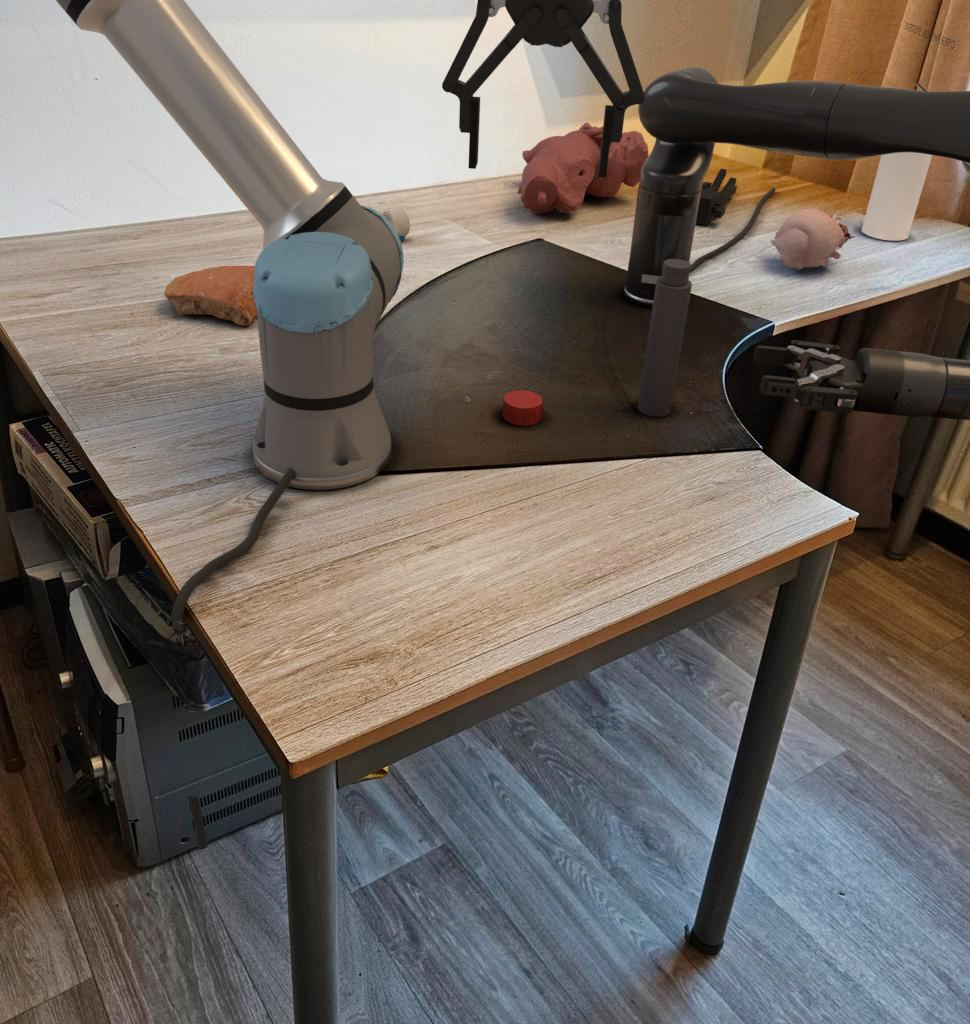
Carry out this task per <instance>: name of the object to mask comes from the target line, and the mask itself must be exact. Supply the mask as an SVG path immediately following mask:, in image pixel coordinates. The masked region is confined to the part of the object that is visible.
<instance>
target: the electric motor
mask: <svg viewBox="0 0 970 1024" xmlns="http://www.w3.org/2000/svg"><path fill="white" fill-rule="evenodd" d="M381 214H382V215H383V216H384V217H385V218H386V219H387V220H388V221H389V222H390V223H391V225H392V226H393V227H394V229H395V231H396V232H397V234H398V236H399V239H400V241H404V240H405V238H406V236H407V235H409V233H410V229H411V222H410V218H409V216H408V213H407V212H406V210H404V209H403V208H397V209H392V210H387V211H384V212H383V213H381Z"/></svg>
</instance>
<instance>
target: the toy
mask: <svg viewBox="0 0 970 1024" xmlns="http://www.w3.org/2000/svg"><path fill="white" fill-rule="evenodd" d="M842 221H843V220H842V217H840V216H838V215H837V214H835V213H833V214H831V215H830V214H828V213H827V212H826V211H823V210H820V209H817V208H802V209H799V210H797V211H796V212H793V213H792V214H791V215H790V216H789V217H787V218H786V219H785V220H784V221H783V223H782V224H781V226H780V227H779V229H778V231H775V236H774V239H770V240H769V241H770V243H771V244H772V245H773V247H775V249H776V250H777V251H776V252H778V254H779V256H780V258H781V260H782V262H783V264H785V266H787V267H788V268H791V269H796V270H797V271H798V270H799V271H800V270H801V271H802V270H803V269H804V268H817V269H819V267H820V266H821V268H824V267H826V266H828V264H829V260H830V259H832V258H833V259H835V260H839V259H841V257H842V254H840V253H839V252H838V250H840V249H842V248H843V246H844V245H845V244H846V243H847V242H848V241H849V240H852V239H854V238H855V236H851V233H850V231H849V228H848V224H847V223H842Z"/></svg>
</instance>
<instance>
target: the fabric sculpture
mask: <svg viewBox="0 0 970 1024" xmlns="http://www.w3.org/2000/svg"><path fill="white" fill-rule="evenodd" d="M602 133H603V125H602V126H600V127H598V126H592V125H591V124H590V123H589V122H585V123H584V124H581V126H580V127H579V129H576V130H573V131H570V132H568V133H566V134H565V135H554V136H549V137H546V138H544V139H542V140H540V141H539V142H538V143H536V145H535V146H534V147H532V148H531V149H529V150H523V151H522V153H521V156H522V158H523V160H524V162H525V163H526V164H525V166H524V168H523V170H522V172H521V173H522V174H521V180H520V181H521V182H520V185H519V186H518V189H517V194H518V195H520V200H521V202H522V203H523V207H524V209H525V210H529V211H530V212H532V213H535V214H546V213H549V212H551V211H552V210H553V209H554V208H555V209H556V210H557V211H559V212H560V213H564V214H569V213H573V212H575V211H578V209H579V208H581V206H582V203H584V199H585V195H591V196H593V197H596V198H599V197H604V198H606V197H608V198H610V197H613V196H614V195H617V194H618V192H619V191H620V189H621V186H622V184H624V185H625V186H627V187H631V188H635V187H636V186H637V185H639V180H640V173H641V168H642V166H643V164H644V162H645V161H646V160H647V158H648V157H649V146H648V143H647V142H646V141H645V139H644V135H643V134H642V132H638V131H636V130H631V131H628V132H627V131H624V132H622V138H621V140H620V142H619V143H616V142H610V148H609V157H608V166H607V175H606V177H599V171H598V170H599V160H600V151H601V142H602Z"/></svg>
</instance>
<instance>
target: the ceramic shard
mask: <svg viewBox="0 0 970 1024" xmlns="http://www.w3.org/2000/svg"><path fill="white" fill-rule="evenodd" d="M254 269H255V265H219V266H214V267H207V268H203V269H201V270H196V271H191V272H187V273H185V274H182V275H180V276H177V277H174V278H173V279H172V280H171V281H170V282H169V283H168V284H167V285H166V287H165V289H164V292H163V294H164V297H165V298H166V299H167V301H169V302H170V303H171V304H172V305H173V307H174V309H175V310H176V312H177V313H178V314H179V315H211V316H214V317H216V318H218V319H220V320H227V321H231V322H233V323H235V324H236V325H239V326H243V327H245V326H249V325H250V324H251V323H252V321H253V320H254V319H255V317H257V311H256V303H255V300H254V296H253V291H254V287H253V284H254Z"/></svg>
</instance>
